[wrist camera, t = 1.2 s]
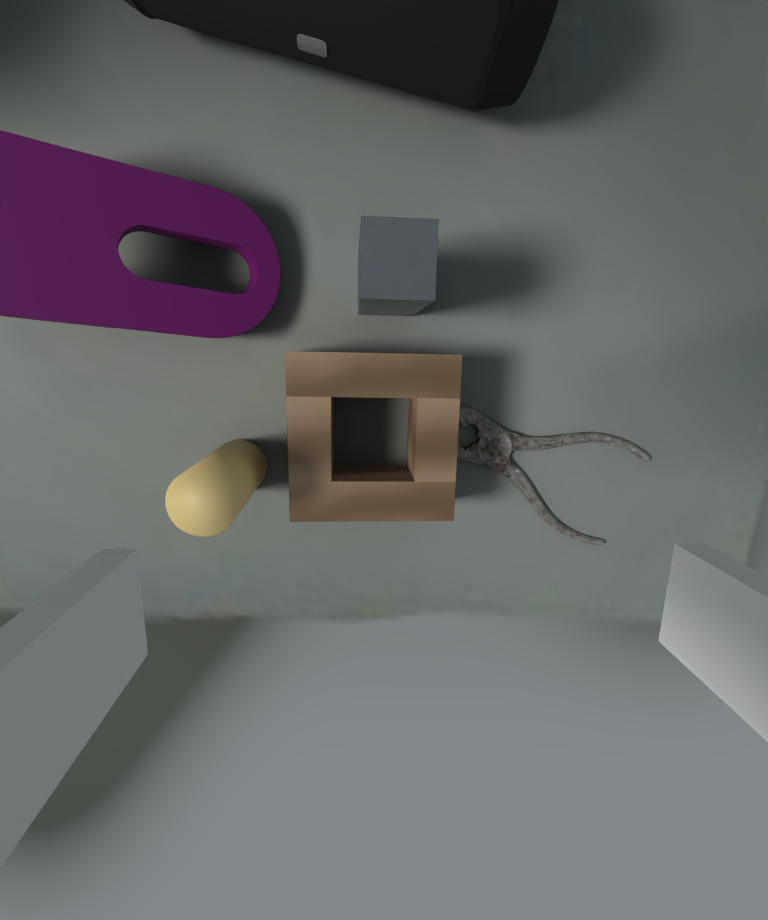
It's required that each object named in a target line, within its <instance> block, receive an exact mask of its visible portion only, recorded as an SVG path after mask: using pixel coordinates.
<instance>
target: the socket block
mask: <svg viewBox="0 0 768 920" xmlns="http://www.w3.org/2000/svg"><path fill="white" fill-rule="evenodd" d="M462 356H463V355H452V354H401V353H350V352H300V351H285V361H286V398H287V435H288V471H289V508H290V522H309V521H454V504H455V485H456V467H457V448H458V430H459V412H460V393H461V375H462ZM334 397H366V398H409V408H408V441H407V466H341V465H334Z"/></svg>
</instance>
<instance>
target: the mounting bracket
mask: <svg viewBox="0 0 768 920" xmlns="http://www.w3.org/2000/svg"><path fill="white" fill-rule="evenodd" d="M135 231H145V232H150V233H155V234H159V235H164V236H169V237H174V238H179V239H184V240H188V241H193V242H198V243H203V244H208V245H213V246H218V247H222V248H227V249H231V250H234V251H236V252H237V253H239V254H240V255H241V256H242V257H243V258H244V259H245V260H246V262H247V264H248V266H249V269H250V282H249V285H248V287H247V288H246V290H245V291H243V292H242V293H241V294H232V293H225V292H219V291H213V290H207V289H200V288H194V287H188V286H182V285H175V284H169V283H163V282H157V281H150V280H145V279H142V278H139V277H137V276H135V275H134V274H132V273H131V272H130V271H129V270H128V269H127V268H126V267H125V266H124V264H123V263H122V261H121V259H120V256H119V253H118V246H119V243H120V241H121V240H122V238H123V237H124V236H126V235H127V234H129V233H131V232H135ZM279 284H280V263H279V257H278V253H277V250H276V247H275V244H274V241H273V239H272V237H271V235H270V233H269V231H268V229H267V228H266V226H265V225H264V223H263V222H262V221H261V219H260V218H259V217H258V216H257V214H256V213H255V212H254V211H253V210H252V209H251V208H249V207H248V206H247V205H246V204H245V203H244V202H242V201H241V200H239V199H238V198H236V197H235V196H233V195H231V194H229V193H227V192H225V191H222V190H220V189H217V188H214V187H210V186H207V185H203V184H199V183H195V182H192V181H188V180H184V179H180V178H177V177H173V176H169V175H165V174H162V173H158V172H154V171H150V170H147V169H143V168H139V167H135V166H132V165H128V164H124V163H121V162H117V161H113V160H109V159H106V158H102V157H98V156H94V155H91V154H87V153H83V152H79V151H76V150H72V149H68V148H64V147H61V146H57V145H53V144H49V143H46V142H42V141H38V140H34V139H31V138H27V137H23V136H19V135H16V134H12V133H8V132H4V131H1V130H0V316H7V317H16V318H25V319H34V320H43V321H52V322H61V323H70V324H80V325H89V326H99V327H109V328H122V329H132V330H141V331H150V332H159V333H168V334H177V335H186V336H195V337H205V338H227V337H232V336H236V335H239V334H242V333H244V332H246V331H248V330H250V329H252V328H253V327H255V326H256V325H257V324H259V323H260V322H261V321H262V320H263V319H264V318H265V316H266V315H267V314H268V312H269V311H270V310H271V308H272V306H273V304H274V302H275V299H276V297H277V294H278V290H279Z"/></svg>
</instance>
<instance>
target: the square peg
mask: <svg viewBox="0 0 768 920" xmlns="http://www.w3.org/2000/svg"><path fill="white" fill-rule="evenodd" d="M438 222H439V219H424V218H399V217H374V216H361V224H360V240H359V255H358V314H360V315H400V316H413V315H414V314H416V313H417V312H419V311H420V310H422V309H423V308H425V307H426V306H428V305H429V304H431V303H432V302H434V301H435V295H436V271H437V246H438Z"/></svg>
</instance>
